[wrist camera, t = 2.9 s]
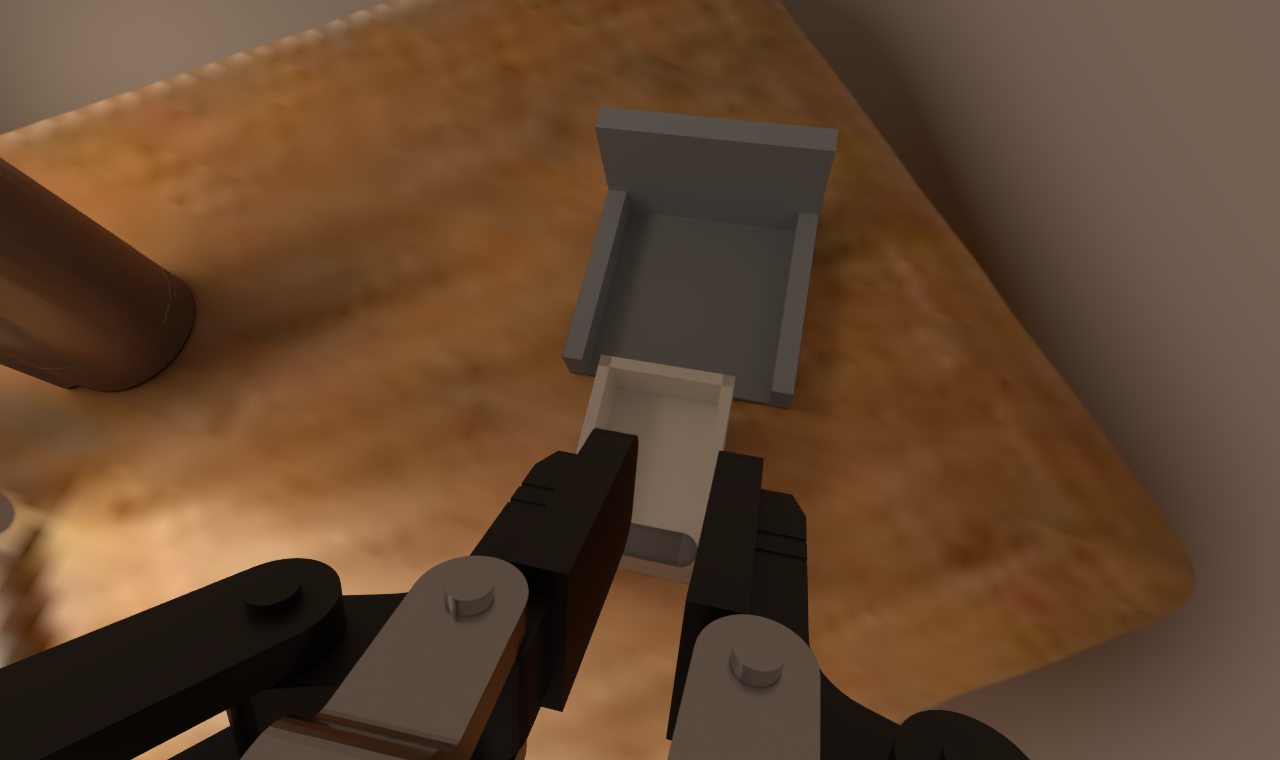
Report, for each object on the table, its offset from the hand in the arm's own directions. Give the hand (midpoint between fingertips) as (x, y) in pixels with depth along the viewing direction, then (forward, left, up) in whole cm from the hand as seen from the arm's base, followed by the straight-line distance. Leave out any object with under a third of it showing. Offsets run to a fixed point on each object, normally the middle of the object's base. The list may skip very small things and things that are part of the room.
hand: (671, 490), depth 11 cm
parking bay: (+6, +16, -26) cm, 31 cm away
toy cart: (0, +6, -25) cm, 26 cm away
